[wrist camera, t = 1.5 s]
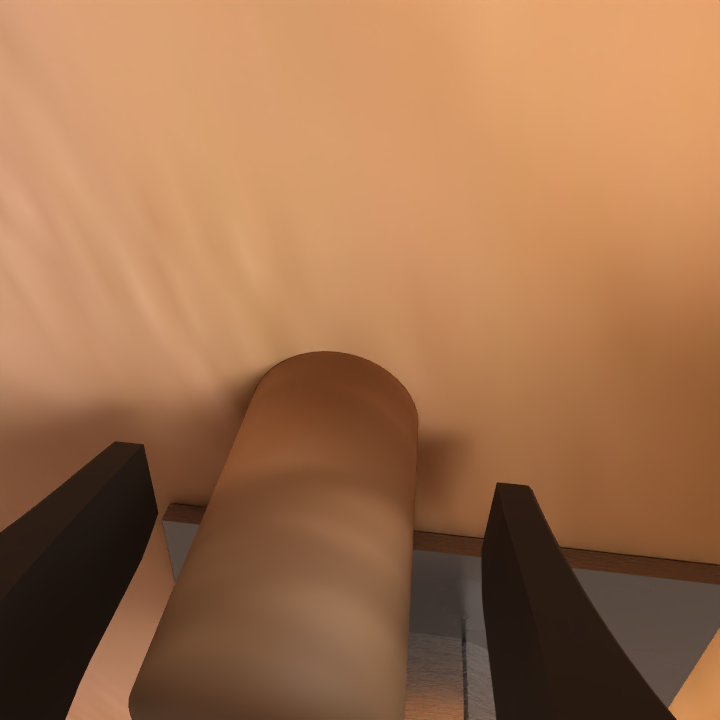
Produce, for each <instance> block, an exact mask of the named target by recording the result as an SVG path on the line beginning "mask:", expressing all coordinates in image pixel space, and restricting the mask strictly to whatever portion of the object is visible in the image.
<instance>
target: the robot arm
mask: <svg viewBox="0 0 720 720" xmlns="http://www.w3.org/2000/svg"><path fill="white" fill-rule="evenodd" d="M157 515H158V509H157V504H156V500H155V495H154V490H153V486H152V481H151V477H150V472H149V467H148V463H147V458H146V454H145V449H144V445H143V444H134V443H124V442H114V443H113V444H111V445H110V446H109V447H108V448H106V449H105V450H104V451H103V452H101V453H100V454H99V455H98V456H96V457H95V458H94V459H93V460H92V461H90V462H89V463H88V464H87V465H85V466H84V467H83V468H82V469H81V470H79V471H78V472H77V473H76V474H74V475H73V476H72V477H71V478H70V479H68V480H67V481H66V482H65V483H63V484H62V485H61V486H60V487H59V488H57V489H56V490H55V491H54V492H52V493H51V494H50V495H49V496H47V497H46V498H45V499H44V500H42V501H41V502H40V503H39V504H37V505H36V506H35V507H33V508H32V509H31V510H30V511H28V512H27V513H26V514H25V515H23V516H22V517H21V518H19V519H18V520H17V521H15V522H14V523H13V524H11V525H10V526H8V527H7V528H6V529H4V530H3V531H2V532H0V720H65V719H66V716H67V714H68V711H69V709H70V706H71V704H72V701H73V699H74V696H75V694H76V691H77V689H78V686H79V684H80V681H81V679H82V677H83V675H84V673H85V671H86V669H87V666H88V664H89V662H90V660H91V658H92V656H93V654H94V652H95V650H96V648H97V646H98V644H99V642H100V640H101V638H102V637H103V635H104V633H105V631H106V629H107V627H108V625H109V623H110V621H111V619H112V617H113V615H114V613H115V611H116V609H117V607H118V605H119V603H120V601H121V600H122V598H123V596H124V594H125V592H126V590H127V588H128V586H129V584H130V582H131V580H132V578H133V576H134V574H135V572H136V570H137V568H138V566H139V564H140V562H141V560H142V557H143V554H144V552H145V549H146V547H147V544H148V541H149V539H150V536H151V533H152V530H153V527H154V524H155V521H156V518H157ZM481 579H482V605H483V614H484V622H485V631H486V639H487V648H488V656H489V664H490V672H491V680H492V688H493V696H494V705H495V713H496V720H677V719H676V718H675V717H674V716H673V715H672V713H671V712H670V711H669V710H668V708H667V707H666V706H665V705H664V703H663V702H662V701H661V699H660V698H659V697H658V696H657V694H656V693H655V692H654V691H653V689H652V688H651V687H650V685H649V684H648V683H647V682H646V680H645V679H644V678H643V676H642V675H641V674H640V672H639V671H638V670H637V668H636V667H635V665H634V664H633V663H632V661H631V660H630V659H629V657H628V656H627V655H626V653H625V652H624V650H623V649H622V647H621V646H620V645H619V643H618V642H617V640H616V639H615V637H614V636H613V634H612V633H611V631H610V630H609V628H608V627H607V625H606V624H605V622H604V621H603V619H602V618H601V616H600V615H599V613H598V611H597V610H596V608H595V607H594V605H593V604H592V602H591V600H590V599H589V597H588V595H587V594H586V592H585V591H584V589H583V587H582V585H581V584H580V582H579V580H578V578H577V577H576V575H575V573H574V572H573V570H572V568H571V566H570V565H569V563H568V561H567V559H566V558H565V556H564V554H563V552H562V550H561V548H560V546H559V545H558V543H557V541H556V539H555V537H554V535H553V533H552V531H551V529H550V527H549V525H548V523H547V521H546V519H545V517H544V515H543V513H542V511H541V508H540V506H539V504H538V502H537V500H536V497H535V495H534V493H533V490H532V489H531V488H530V487H529V486H527V485H517V484H508V483H499V482H497V484H496V488H495V493H494V497H493V501H492V506H491V510H490V514H489V519H488V523H487V527H486V532H485V536H484V541H483V545H482V549H481Z"/></svg>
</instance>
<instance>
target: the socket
mask: <svg viewBox="0 0 720 720" xmlns="http://www.w3.org/2000/svg"><path fill="white" fill-rule="evenodd" d="M206 509H207V508H205V507H196V506H188V505H179V504H170V505H169V507H168V509H167V511H166V513H165V515H164V517H163V519H162V523H163V528H164V532H165V537H166V542H167V546H168V551H169V556H170V560H171V565H172V570H173V574H174V579H175V584H176V581H177V579H178V576H179V574H180V572H181V569H182V567H183V564H184V562H185V559H186V557H187V555H188V552H189V550H190V547H191V545H192V542H193V540H194V538H195V535H196V533H197V530H198V528H199V525H200V523H201V521H202V518H203V516H204V513H205V511H206ZM483 541H484V539H478V538H469V537H461V536H452V535H443V534H434V533H425V532H417V531H413V552H412V573H411V595H410V616H409V637H408V658H407V680H406V701H405V720H496V713H495V705H494V696H493V688H492V680H491V672H490V664H489V656H488V648H487V639H486V631H485V622H484V614H483V605H482V579H481V549H482V545H483ZM561 550H562V552H563V554H564V556H565V558H566V559H567V561H568V563H569V565H570V566H571V568H572V570H573V572H574V573H575V575H576V577H577V578H578V580H579V582H580V584H581V585H582V587H583V589H584V591H585V592H586V594H587V595H588V597H589V599H590V600H591V602H592V604H593V605H594V607H595V608H596V610H597V611H598V613H599V615H600V616H601V618H602V619H603V621H604V622H605V624H606V625H607V627H608V628H609V630H610V631H611V633H612V634H613V636H614V637H615V639H616V640H617V642H618V643H619V645H620V646H621V647H622V649H623V650H624V652H625V653H626V655H627V656H628V657H629V659H630V660H631V661H632V663H633V664H634V665H635V667H636V668H637V670H638V671H639V672H640V674H641V675H642V676H643V678H644V679H645V680H646V682H647V683H648V684H649V685H650V687H651V688H652V689H653V691H654V692H655V693H656V694H657V696H658V697H659V698H660V699H661V701H662V702H663V703H664V705H665V706H666V707H667V708H668V707H669V706H670V704H671V703H672V701H673V699H674V698H675V696H676V695H677V693H678V692H679V690H680V688H681V687H682V685H683V684H684V682H685V681H686V679H687V678H688V676H689V674H690V673H691V671H692V670H693V668H694V667H695V665H696V664H697V662H698V660H699V659H700V657H701V656H702V654H703V653H704V651H705V649H706V648H707V646H708V645H709V643H710V642H711V640H712V639H713V637H714V635H715V634H716V632H717V631H718V629H719V628H720V566H716V565H707V564H699V563H690V562H681V561H672V560H663V559H655V558H646V557H637V556H628V555H619V554H610V553H602V552H593V551H584V550H575V549H566V548H561Z"/></svg>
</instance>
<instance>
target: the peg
mask: <svg viewBox="0 0 720 720" xmlns="http://www.w3.org/2000/svg"><path fill="white" fill-rule="evenodd" d="M417 445H418V414H417V410H416V407H415V404H414V402H413V400H412V398H411V396H410V394H409V393H408V391H407V390H406V388H405V387H404V386H403V385H402V384H401V383H400V382H399V380H398V379H396V378H395V377H394V376H393V375H392V374H391V373H389V372H388V371H386V370H385V369H383V368H382V367H380V366H379V365H377V364H375V363H373V362H371V361H369V360H366V359H363V358H361V357H358V356H354V355H350V354H346V353H339V352H312V353H306V354H301V355H298V356H295V357H292V358H289V359H287V360H285V361H283V362H281V363H280V364H278V365H277V366H275V367H273V368H272V369H271V370H270V371H269V372H268V373H267V374H266V375H265V376H264V377H263V378H262V380H261V381H260V383H259V384H258V386H257V388H256V390H255V392H254V395H253V397H252V400H251V402H250V404H249V407H248V409H247V412H246V414H245V416H244V419H243V421H242V424H241V426H240V429H239V431H238V433H237V436H236V438H235V441H234V443H233V446H232V448H231V450H230V453H229V455H228V458H227V460H226V463H225V465H224V467H223V470H222V472H221V475H220V477H219V479H218V482H217V484H216V487H215V489H214V492H213V494H212V496H211V499H210V501H209V504H208V506H207V509H206V511H205V513H204V516H203V518H202V521H201V523H200V525H199V528H198V530H197V533H196V535H195V538H194V540H193V542H192V545H191V547H190V550H189V552H188V555H187V557H186V559H185V562H184V564H183V567H182V569H181V572H180V574H179V576H178V579H177V581H176V584H175V586H174V588H173V591H172V593H171V596H170V598H169V601H168V603H167V605H166V608H165V610H164V613H163V615H162V618H161V620H160V622H159V625H158V627H157V630H156V632H155V634H154V637H153V639H152V642H151V644H150V647H149V649H148V651H147V654H146V656H145V659H144V661H143V664H142V666H141V668H140V671H139V673H138V676H137V678H136V680H135V683H134V685H133V688H132V690H131V693H130V696H129V712H130V716H131V718H132V720H405V701H406V680H407V658H408V637H409V616H410V595H411V573H412V552H413V531H414V509H415V488H416V467H417Z"/></svg>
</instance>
